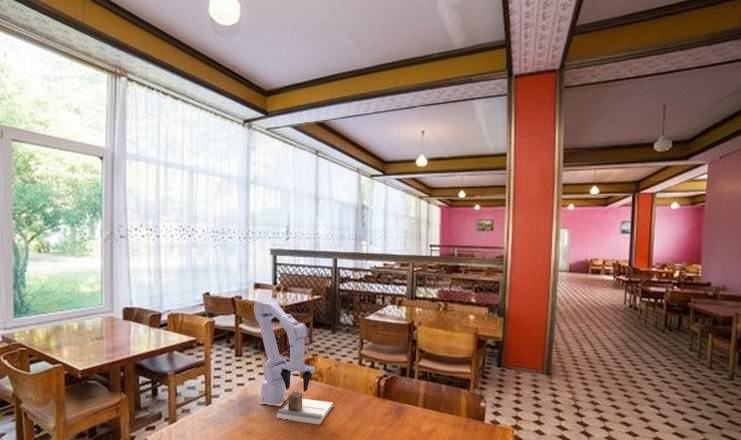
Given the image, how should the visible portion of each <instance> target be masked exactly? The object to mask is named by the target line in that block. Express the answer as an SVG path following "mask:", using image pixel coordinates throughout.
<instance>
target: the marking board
mask: <svg viewBox="0 0 741 440" xmlns="http://www.w3.org/2000/svg"><path fill="white" fill-rule="evenodd" d="M333 406H334V402H331V401H324V400H315V399H308V398H302V409H301V410H300V411H292V410H288V403H286V404H285V405H284V406H283V408H279V409H278V410H277V413H276V419H279V418H282V419H281V420H286V419H288V420H287V421H293V422H300V423H306V424H314V425H321V423H322V422H323V421H324V420H325V418H326V417H327V415H328V414H329V412H330V411H331V410H332V409H333Z"/></svg>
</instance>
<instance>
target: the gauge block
mask: <svg viewBox="0 0 741 440" xmlns="http://www.w3.org/2000/svg"><path fill="white" fill-rule="evenodd" d="M288 397H289V399H288V403H287V404H288V410H292V411H300V410H301V409H302V399H303V392H299V391H292V392H291V393H290V394H289V395H288Z"/></svg>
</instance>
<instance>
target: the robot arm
mask: <svg viewBox="0 0 741 440" xmlns="http://www.w3.org/2000/svg"><path fill="white" fill-rule="evenodd" d="M253 313H254V317H255V321H257V322H258V325H259V329H260V334H261V337H262V341H263V347H264V350H265V352H266V353H265V354H266V357H267V360H266V361H265V363H264V364H263V365H262V369H263V379H264V380H263V382H262V385H261V399H260V400H261V402H266V403H270V404H280V403H282V402H284V401H285V397H286V390H287V391H288V390H289V389H290V387H291V375H292V374H291V373H295V372H300V373H301V372H302V373H303V374H302V380H303V381H302V382H303V392H304V393H306V392H307V391H308V387H309V384H310V383H309V382H310V380H311V378H312V376H313V374H314V373H315V371H316V367H315V366H312V365H308V364H305V340H306V339H305V338H307V336H308V333H309V332H308V331H309V330H308V327H307V325H306V324H305V323H304V322H299V321H298V320H296V318H294V316H293V315H292V314H290V313H286V312H285V311H284V310H283V308H282V307H281V305H280V301H279V300H278V298H277V297H272V298H268V299H260V300H259V299H258V300H256V301H254V303H253ZM274 318H276V319H277V320H278V321H279V325H280V326H281V328H282V329H283V330H284V331H285V333H286V336H287V338H288V344H289V363H288V361H287V359H286V357H284V356H282V355H281V354H280V351H279V348H278V343H277V339H276V336H275V333H274V329H273V325H272V324H273V323H272V319H274ZM264 399H265V400H264ZM261 402H260V403H261Z"/></svg>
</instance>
